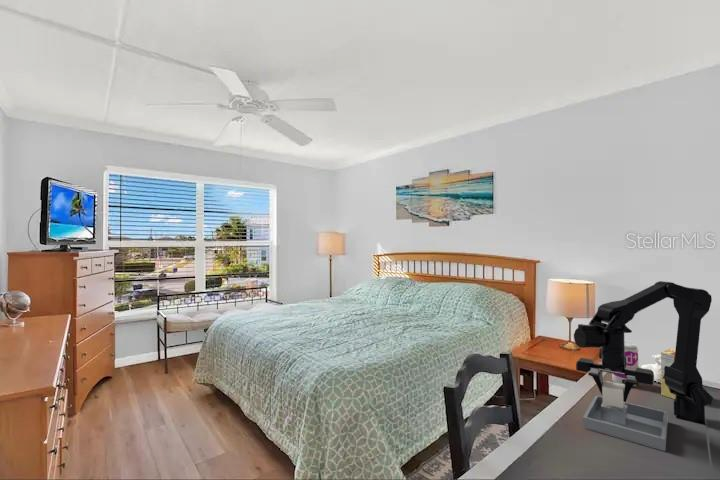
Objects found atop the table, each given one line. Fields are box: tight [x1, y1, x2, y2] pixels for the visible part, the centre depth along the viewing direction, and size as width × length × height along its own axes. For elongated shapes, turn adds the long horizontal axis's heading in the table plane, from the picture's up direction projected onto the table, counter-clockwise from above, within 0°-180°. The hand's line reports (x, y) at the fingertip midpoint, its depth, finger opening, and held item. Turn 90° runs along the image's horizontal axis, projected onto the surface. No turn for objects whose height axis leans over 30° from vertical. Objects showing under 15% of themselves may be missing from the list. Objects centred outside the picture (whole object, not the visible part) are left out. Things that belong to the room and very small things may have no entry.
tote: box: [582, 395, 669, 452], centre depth 104 cm, size 18×20×4 cm
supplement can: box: [611, 341, 640, 387], centre depth 136 cm, size 8×8×15 cm
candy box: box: [660, 347, 676, 400], centre depth 125 cm, size 9×4×15 cm, turn 119°
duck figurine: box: [640, 353, 661, 384], centre depth 138 cm, size 12×8×11 cm
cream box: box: [601, 380, 625, 408], centre depth 108 cm, size 5×6×5 cm
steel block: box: [601, 402, 628, 426], centre depth 107 cm, size 6×6×4 cm
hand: (614, 398), depth 107 cm, fingers closed on cream box, 5 cm apart
